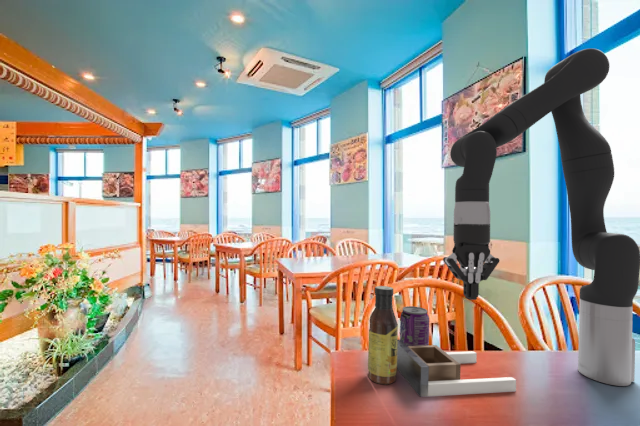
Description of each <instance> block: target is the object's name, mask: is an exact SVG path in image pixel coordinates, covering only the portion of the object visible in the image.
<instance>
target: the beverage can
mask: <svg viewBox="0 0 640 426" xmlns="http://www.w3.org/2000/svg"><path fill="white" fill-rule="evenodd" d="M401 311H402V312H401V313H400V317H399V318H400V319H399V320H400V321H399V323H400V326H399V328H400V329H399V339H400V340H401V341H402V342H403V343H405V344H406V345H407V346H426V345H429V344H430V343H429V341H430V317H429V314H428V309H426V308H423V307H419V306H410V305H409V306H403V307H402V310H401Z"/></svg>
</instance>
